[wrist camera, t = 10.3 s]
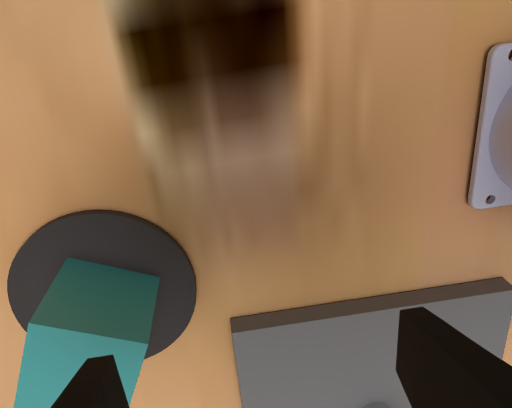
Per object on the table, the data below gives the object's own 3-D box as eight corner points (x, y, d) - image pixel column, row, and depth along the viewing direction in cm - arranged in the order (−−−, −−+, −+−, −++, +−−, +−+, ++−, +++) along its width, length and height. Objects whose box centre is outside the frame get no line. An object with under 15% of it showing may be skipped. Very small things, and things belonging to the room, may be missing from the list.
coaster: (180, 198, 19) (180, 203, 19) (207, 343, 23) (207, 351, 22) (-15, 223, 19) (-22, 229, 18) (44, 368, 22) (40, 377, 22)
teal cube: (159, 277, 20) (148, 344, 16) (139, 344, 22) (124, 422, 17) (67, 257, 19) (28, 323, 15) (52, 329, 21) (13, 408, 16)
